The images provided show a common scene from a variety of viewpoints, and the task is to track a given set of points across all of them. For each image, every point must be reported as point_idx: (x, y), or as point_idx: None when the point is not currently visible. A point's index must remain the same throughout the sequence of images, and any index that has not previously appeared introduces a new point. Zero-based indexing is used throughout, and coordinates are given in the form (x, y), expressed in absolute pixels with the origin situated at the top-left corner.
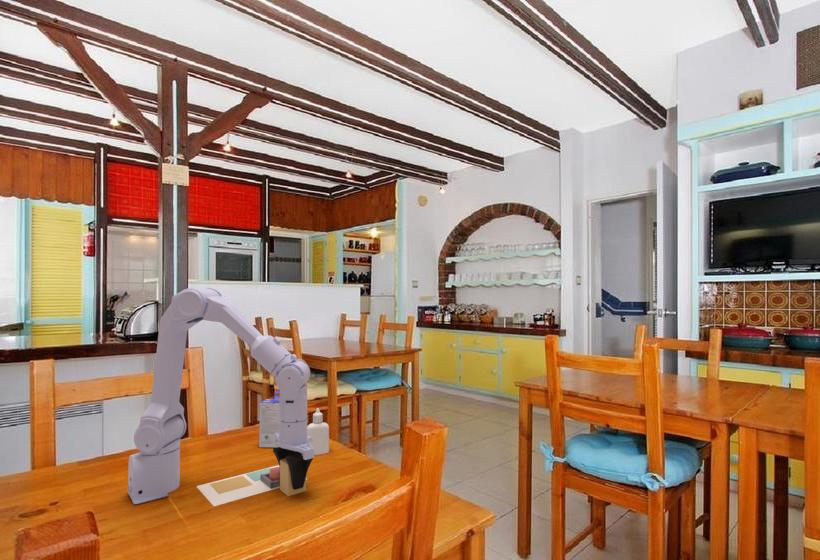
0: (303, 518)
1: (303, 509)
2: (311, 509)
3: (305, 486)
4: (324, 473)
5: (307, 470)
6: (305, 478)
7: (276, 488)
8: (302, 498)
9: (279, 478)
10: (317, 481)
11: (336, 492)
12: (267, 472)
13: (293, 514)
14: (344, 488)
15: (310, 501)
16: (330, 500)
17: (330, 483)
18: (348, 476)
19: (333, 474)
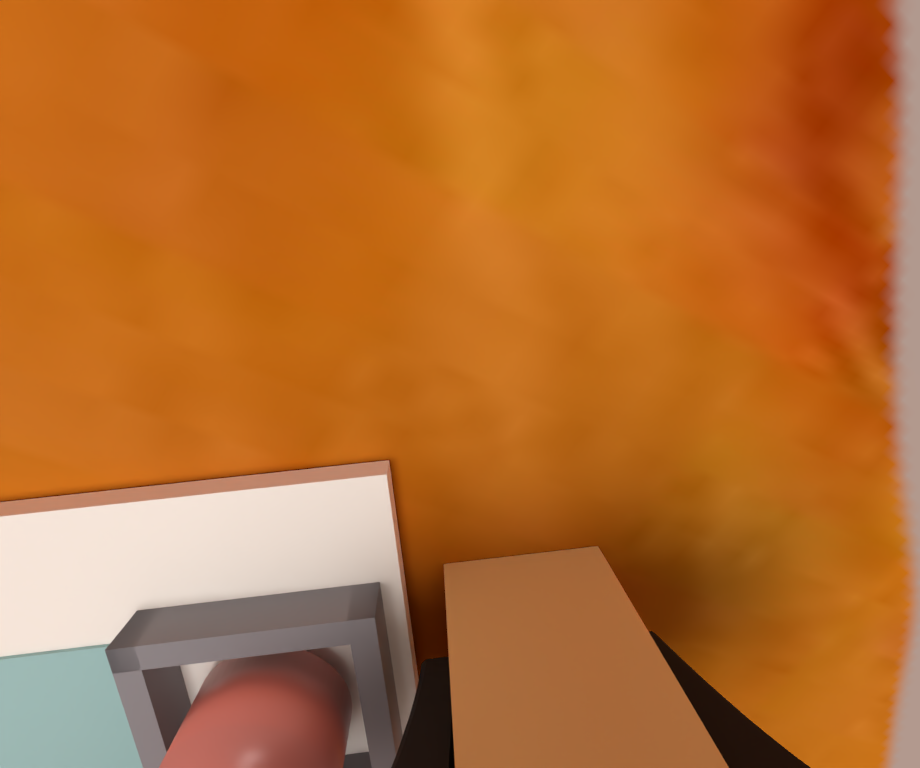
0: (899, 665)
1: (796, 631)
2: (835, 590)
3: (624, 596)
4: (237, 228)
5: (794, 756)
6: (658, 654)
7: None
8: (640, 587)
9: (346, 744)
10: (401, 373)
11: (725, 326)
12: (31, 724)
13: (810, 697)
14: (703, 224)
15: (723, 557)
16: (815, 431)
17: (517, 287)
18: (464, 26)
19: (316, 153)
